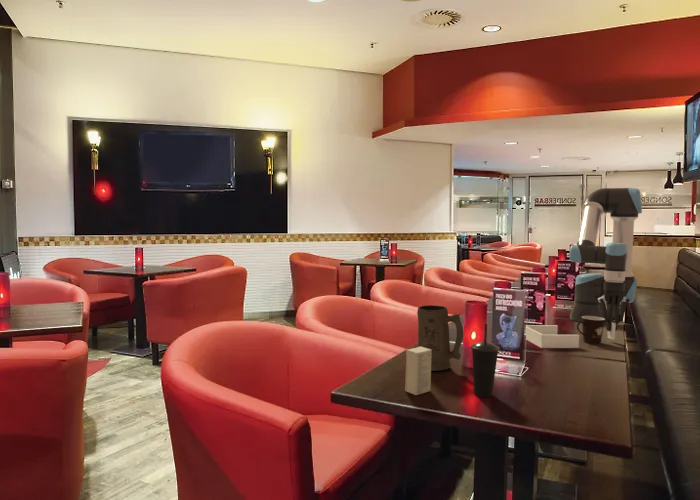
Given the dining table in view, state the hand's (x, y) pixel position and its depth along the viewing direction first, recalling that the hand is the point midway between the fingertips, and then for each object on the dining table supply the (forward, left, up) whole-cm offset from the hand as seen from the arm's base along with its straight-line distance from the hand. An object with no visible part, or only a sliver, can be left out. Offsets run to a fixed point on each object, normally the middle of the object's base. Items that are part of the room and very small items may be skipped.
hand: (611, 338), depth 211 cm
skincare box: (+93, +56, -2) cm, 108 cm away
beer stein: (+81, +34, -2) cm, 88 cm away
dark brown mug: (+10, 0, -2) cm, 10 cm away
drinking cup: (+75, +59, -2) cm, 95 cm away
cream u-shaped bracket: (+26, 0, -2) cm, 26 cm away
